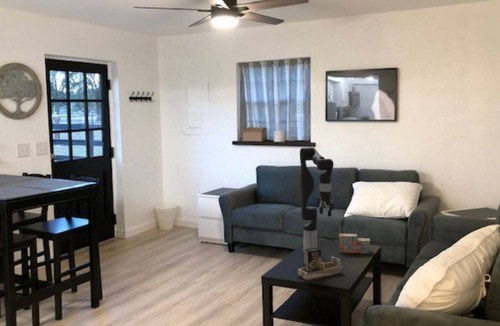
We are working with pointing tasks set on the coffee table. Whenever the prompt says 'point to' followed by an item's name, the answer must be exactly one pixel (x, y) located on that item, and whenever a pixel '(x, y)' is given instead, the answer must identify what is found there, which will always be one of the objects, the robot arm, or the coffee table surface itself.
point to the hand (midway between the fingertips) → (325, 215)
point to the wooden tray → (329, 270)
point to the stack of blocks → (353, 244)
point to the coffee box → (312, 260)
